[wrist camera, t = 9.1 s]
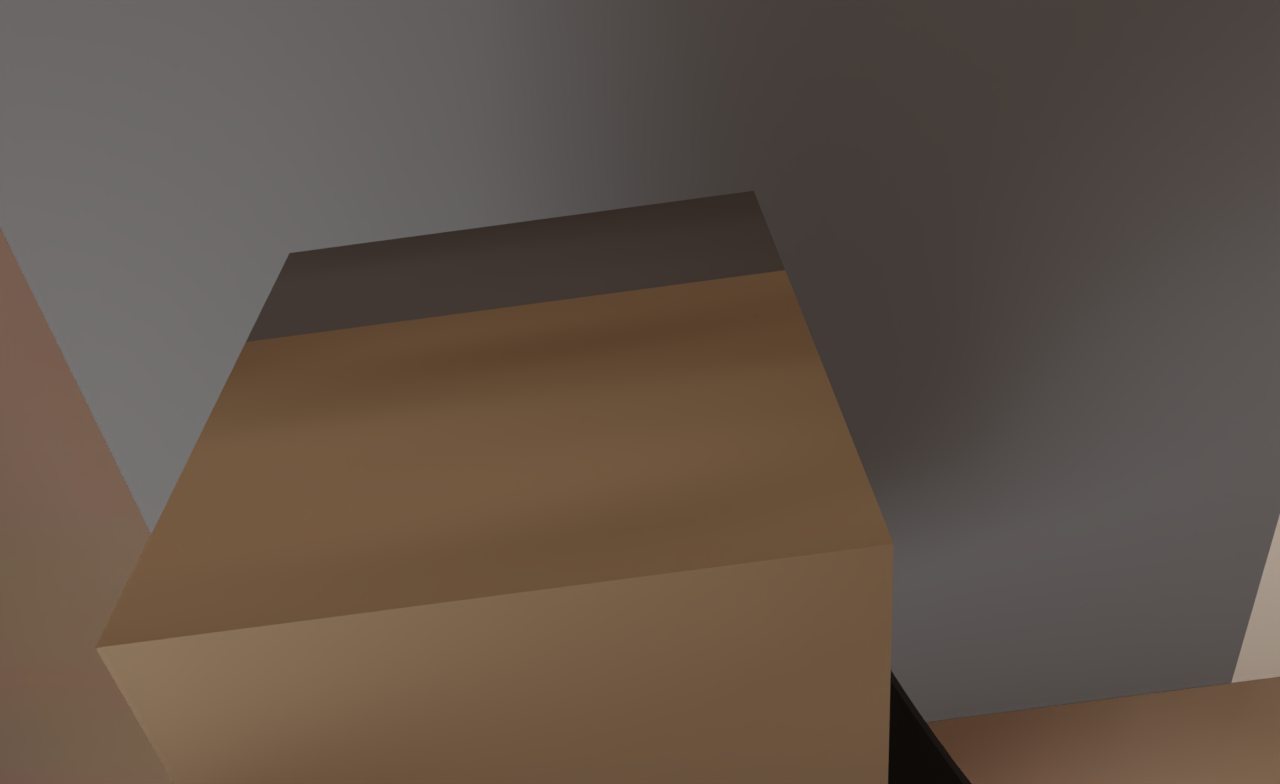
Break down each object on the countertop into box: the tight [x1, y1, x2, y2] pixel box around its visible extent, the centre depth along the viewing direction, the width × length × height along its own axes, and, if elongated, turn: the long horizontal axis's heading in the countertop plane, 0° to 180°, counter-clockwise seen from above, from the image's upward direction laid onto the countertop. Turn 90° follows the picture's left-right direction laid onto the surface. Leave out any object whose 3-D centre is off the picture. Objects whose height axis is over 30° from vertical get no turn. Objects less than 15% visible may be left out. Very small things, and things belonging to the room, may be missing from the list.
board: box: [0, 0, 1280, 722], centre depth 16 cm, size 16×28×2 cm, turn 97°
